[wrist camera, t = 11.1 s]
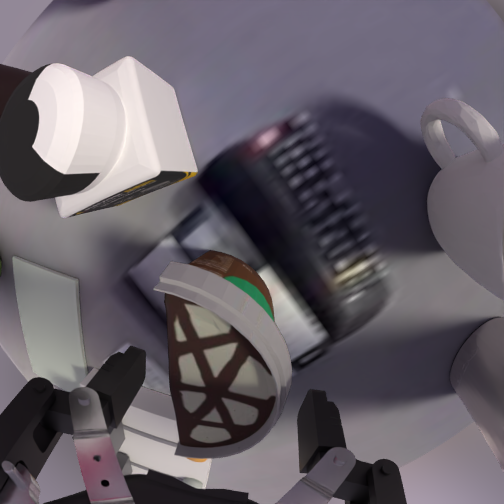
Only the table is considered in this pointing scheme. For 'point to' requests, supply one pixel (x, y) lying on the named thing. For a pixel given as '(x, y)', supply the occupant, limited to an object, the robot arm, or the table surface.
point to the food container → (222, 355)
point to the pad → (51, 323)
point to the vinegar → (9, 83)
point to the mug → (467, 193)
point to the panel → (157, 438)
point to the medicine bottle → (92, 137)
